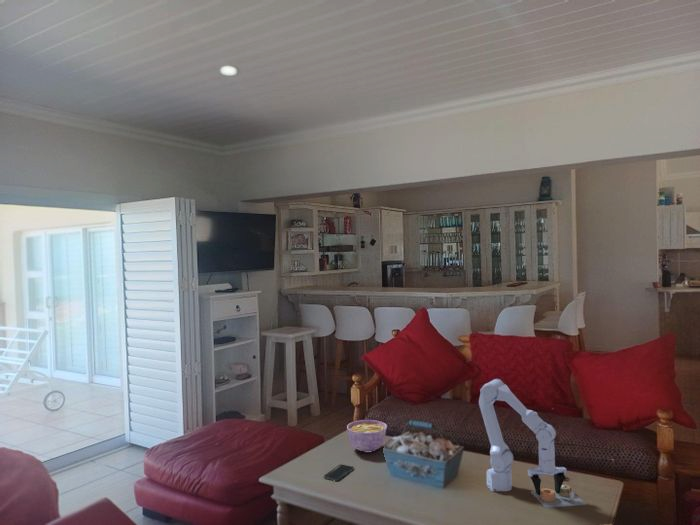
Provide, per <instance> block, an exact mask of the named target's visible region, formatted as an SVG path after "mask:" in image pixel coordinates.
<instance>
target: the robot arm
mask: <svg viewBox="0 0 700 525" xmlns="http://www.w3.org/2000/svg"><path fill="white" fill-rule="evenodd" d="M479 391H480V394H479V398H478V405H479V409H480V413H481V417H482V419H483V423H484V427H485V431H486V433H487V437H488V440H489V443H490V450H489V454H490V455H489V457H490V461H489V464H490V466H491V468H489V469H488V468H487V469H486V474H485V475H486V486H487V488H488V489H489V490H490V491H491V492H509V491H511V490H512V489H513V482H512V481H513V480H512V478H513V477H512V476H513V474H512V466H511V464H512V463H513V462H514V454H513V453H512V451H511V450H510V448H509V446H508V445H507V444H506V443H505V441H504V438H503V434H502V431H501V428H500V424H499V421H498V416H497V414H496V413H497V412H496V411H495V408H494V403H495V402H496V401H501V402H505V403H507V404H508V405H509V406H510V407H511V408H512V409H514V411H516V412H517V414H519V415H520V416H521V421H522V422H523V423H524V424H525V425H526V426H527V428H529V429H530V430H531V431H532V432H533V433H534V434H535V437H536V440H537V441H538V467H535V468H530V469H527V476H528V477H530V479H531V481H532V484H533V486H534V491H536V493H537V494H538V495H540V490H541V483H542V479H541V478H540V476H546V475H547V476H553V479H554V490H555V492H556V493H557V494H559V493H560V489H561V486H562V484H564V482H565V480H566V475H567V468H566V467H564V466H556V459H555V458H556V455H555V437H556V435H557V431H556V429H555V428H554V426H553V425H551V424H549V423H547V422H545V421H544V420H543V419H542V418H541V417H540V416H539V415H538V412H537V411H534V410H532V409H528V408H527V407H526V406H525V405H524V404H523V403H522V402H521V401H520V400H519V398H517V397H516V395H515V394H514V393H513V392H512V391H511V390H510V388H509V387H508V384H505V383H504V382H503V380H501V379H499V378H494V379H492V380H490V381H489V382H487V383H484V384H483V385H482V387H481V388H480V389H479Z"/></svg>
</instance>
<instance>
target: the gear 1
mask: <svg viewBox="0 0 700 525" xmlns="http://www.w3.org/2000/svg"><path fill="white" fill-rule="evenodd" d="M553 490H554V489H550V488H546V487H545V488H540V498H541V499H542V500H543V501H547V502H552V501H554V500H555V499H556V498H555V492H554V491H553Z"/></svg>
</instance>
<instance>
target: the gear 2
mask: <svg viewBox="0 0 700 525" xmlns="http://www.w3.org/2000/svg"><path fill="white" fill-rule="evenodd" d="M562 485H565V488H562V486H561V489H560V493H559V494H558V495H560V496H565V497H566V496H570V493H571V491H572V487H571V486H570V485H569V484H566V483H562Z"/></svg>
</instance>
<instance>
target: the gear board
mask: <svg viewBox="0 0 700 525" xmlns="http://www.w3.org/2000/svg"><path fill="white" fill-rule="evenodd" d="M562 488H565V485H562ZM552 490H553V491H554V492H555V489H552ZM530 493H531V495H532V496H533V497H534V498H535V499H536V500H537V501H539V503H540V504H541V505H542V506H543V507H544V508H546V509H547V508H558V507H559V508H562V507H570V506H571V507H573V506H585V505H587V503H586V502H584V501H583V499H581V498H580V497H579V496H578V495H576V494H575V493H574V492H573V491H572V490H571V493H570V496H566V497H565V496H560V495H558V494H557V493H556V492H555V498H556V499H555V500H554V501H552V502H547V501H543V500H542V499H541V498H540V495H538V494H537V493H536V490H533V491H530Z"/></svg>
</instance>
